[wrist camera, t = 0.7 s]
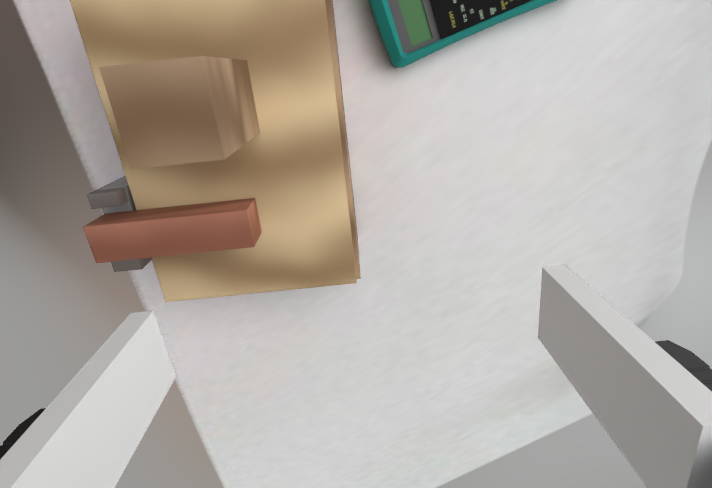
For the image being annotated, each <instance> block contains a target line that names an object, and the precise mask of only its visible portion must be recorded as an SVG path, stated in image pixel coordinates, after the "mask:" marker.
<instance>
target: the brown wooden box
mask: <svg viewBox="0 0 712 488" xmlns="http://www.w3.org/2000/svg"><path fill="white" fill-rule="evenodd" d="M325 3H326V12H327V21H328V30H329V39H330V48H331V56H332V65H333V74H334V83H335V92H336V101H337V110H338V119H339V128H340V137H341V146H342V155H343V164H344V173H345V182H346V191H347V200H348V209H349V217H350V226H351V235H352V244H353V253H354V262H355V271H356V279H360V264H359V250H358V237H357V227H356V218H355V208H354V199H353V190H352V180H351V171H350V161H349V152H348V142H347V133H346V123H345V114H344V105H343V95H342V86H341V76H340V67H339V57H338V48H337V39H336V29H335V20H334V10H333V1H332V0H325ZM87 197H88V199H89V202H90V205H91V207H92V209H96V208H102V209H103V212H104V214H106V213H114V212H124V211H133V210H136V207H135V204H134V201H133V197H132V194H131V191H130V188H129V185H128V182H127V179H126V176H125V177H122V178H120V179H118V180H116V181H114V182H112V183H110V184H108V185H106V186H104V187H102V188H100V189H98V190H96V191H94V192H91V193H89V194H88V195H87ZM151 260H152V258H142V259H132V260H122V261H112V262H111V263H112V266H113V269H114V271H115V272H117V271H128V270H138V269H143V268H144V267H145V266H146V265H147V264H148V263H149V262H150V261H151Z"/></svg>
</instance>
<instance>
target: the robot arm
mask: <svg viewBox="0 0 712 488" xmlns="http://www.w3.org/2000/svg"><path fill="white" fill-rule="evenodd" d="M538 338H539V340H540V341H541V342H542V344H543V345H544V346H545V348H546V349H547V351H548V352H549V353H550V355H551V356H552V358H553V359H554V360H555V362H556V363H557V364H558V366H559V367H560V369H561V370H562V371H563V373H564V374H565V375H566V377H567V378H568V380H569V381H570V382H571V384H572V385H573V386H574V388H575V389H576V391H577V392H578V393H579V395H580V396H581V397H582V399H583V400H584V402H585V403H586V404H587V406H588V407H589V408H590V410H591V411H592V413H593V414H594V415H595V417H596V418H597V419H598V421H599V422H600V423H601V425H602V426H603V428H604V429H605V430H606V432H607V433H608V434H609V436H610V437H611V439H612V440H613V441H614V443H615V444H616V446H617V447H618V448H619V450H620V451H621V453H622V454H623V455H624V456H625V458H626V459H627V461H628V462H629V463H630V465H631V466H632V468H633V469H634V470H635V472H636V473H637V475H638V476H639V477H640V478H641V480H642V481H643V483H644V484H645V485H646V487H647V488H712V369H710V367H709V366H708V365H707V364H706V363H705V362H704V361H702V360H701V359H700V358H699V357H697V356H696V355H695V354H694V353H692V352H691V351H689V350H687V349H685V348H683V347H681V346H679V345H677V344H674V343H673V342H671V341H668V340H667V341H658V342H654V341H653V340H652V339H651V338H650V337H648V336H647V335H646V334H645V333H644V332H643V331H642V330H640V329H639V328H638V327H637V326H636V325H635V324H634V323H632V322H631V321H630V320H629V319H628V318H627V317H625V316H624V315H623V314H622V313H621V312H620V311H619V310H617V309H616V308H615V307H614V306H613V305H612V304H611V303H609V302H608V301H607V300H606V299H605V298H604V297H603V296H601V295H600V294H599V293H598V292H597V291H596V290H595V289H593V288H592V287H591V286H590V285H589V284H588V283H586V282H585V281H584V280H583V279H582V278H581V277H580V276H578V275H577V274H576V273H575V272H574V271H573V270H572V269H570V268H569V267H568V266H567V265H558V266H549V267H542V283H541V298H540V314H539V330H538ZM175 378H176V375H175V372H174V369H173V366H172V363H171V360H170V357H169V355H168V352H167V349H166V346H165V343H164V340H163V337H162V334H161V331H160V328H159V326H158V323H157V320H156V317H155V314H154V311H146V312H137V313H130V315H129V316H128V317H127V318H126V319H125V320H124V321H123V323H122V324H121V325H120V326H119V327H118V328H117V329H116V330H115V331H114V333H113V334H112V335H111V336H110V337H109V338H108V339H107V340H106V342H105V343H104V344H103V345H102V346H101V347H100V348H99V349H98V351H97V352H96V353H95V354H94V355H93V356H92V357H91V358H90V359H89V361H88V362H87V363H86V364H85V365H84V366H83V367H82V369H81V370H80V371H79V372H78V373H77V374H76V375H75V376H74V378H73V379H72V380H71V381H70V382H69V383H68V384H67V385H66V386H65V388H64V389H63V390H62V391H61V392H60V393H59V394H58V395H57V397H56V398H55V399H54V400H53V401H52V402H51V403H50V404H49V406H48V407H47V408H44V409H40V410H39V411H37V412H36V413H34V414H33V415H32V416H30V417H29V418H28V419H26V420H25V421H24V422H22V423H21V424H20V425H19V426H18V427H17V428H16V429H15V430H14V431H13V432H12V433H11V434H10V435H9V436H8V437H7V439H6V440H5V441H4V442H3V445H2V446H0V488H115V486H116V484H117V482H118V480H119V479H120V477H121V475H122V473H123V471H124V469H125V467H126V466H127V464H128V462H129V461H130V459H131V457H132V455H133V453H134V451H135V450H136V448H137V446H138V444H139V443H140V441H141V439H142V437H143V435H144V434H145V432H146V430H147V428H148V426H149V424H150V422H151V421H152V419H153V417H154V416H155V414H156V412H157V410H158V408H159V407H160V405H161V403H162V401H163V399H164V397H165V396H166V394H167V392H168V390H169V389H170V387H171V385H172V383H173V381H174V380H175Z"/></svg>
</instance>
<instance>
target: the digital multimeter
mask: <svg viewBox="0 0 712 488" xmlns="http://www.w3.org/2000/svg"><path fill="white" fill-rule="evenodd" d="M553 1H556V0H369V4H370V7H371V11H372V14H373V17H374V20H375V23H376V26H377V29H378V32H379V34H380V37H381V39H382V42H383V44H384V47H385V49H386V51H387V54H388V56H389V58H390V61H391V63H392V65H393V66H394V67H396V68H400V67H404V66H406V65H408V64H411V63H413V62H415V61H417V60H419V59H421V58H423V57H425V56H427V55H429V54H431V53H433V52H435V51H438V50H440V49H442V48H444V47H446V46H448V45H450V44H452V43H454V42H456V41H459V40H461V39H463V38H466V37H468V36H470V35H472V34H475V33H477V32H479V31H481V30H484V29H486V28H488V27H490V26H493V25H495V24H497V23H500V22H502V21H505V20H507V19H510V18H512V17H515V16H517V15H520V14H522V13H525V12H527V11H530V10H532V9H535V8H537V7H540V6H543V5H545V4H548V3H551V2H553ZM527 2H528V3H527ZM479 3H481V4H479ZM520 5H521V6H520Z"/></svg>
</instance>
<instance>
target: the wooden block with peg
mask: <svg viewBox="0 0 712 488" xmlns="http://www.w3.org/2000/svg"><path fill="white" fill-rule="evenodd" d="M70 2H71V6H72V9H73V12H74V15H75V18H76V21H77V24H78V28H79V31H80V34H81V37H82V40H83V43H84V46H85V50H86V53H87V56H88V59H89V62H90V65H91V68H92V72H93V75H94V78H95V81H96V84H97V87H98V90H99V94H100V97H101V100H102V103H103V106H104V109H105V112H106V116H107V119H108V122H109V125H110V128H111V131H112V135H113V138H114V141H115V144H116V147H117V150H118V153H119V157H120V160H121V163H122V166H123V169H124V172H125V175H126V179H127V182H128V185H129V188H130V191H131V194H132V197H133V201H134V204H135V207H136V210H143V209H153V208H162V207H172V206H182V205H191V204H201V203H211V202H221V201H230V200H240V199H250V198H255V200H256V205H257V210H258V215H259V220H260V225H261V230H262V233H261V235H260V237H259V239H258V241H257V243H256V245H255V246H254V247H251V248H241V249H231V250H221V251H211V252H201V253H191V254H182V255H172V256H162V257H152V260H153V263H154V267H155V270H156V273H157V276H158V279H159V282H160V286H161V289H162V292H163V295H164V298H165V301H166V302H171V301H181V300H191V299H201V298H211V297H221V296H231V295H241V294H251V293H261V292H271V291H281V290H291V289H302V288H312V287H322V286H332V285H342V284H352V283H356V271H355V262H354V253H353V244H352V235H351V226H350V217H349V209H348V200H347V191H346V182H345V173H344V164H343V155H342V146H341V137H340V128H339V119H338V110H337V101H336V92H335V83H334V74H333V65H332V56H331V48H330V39H329V30H328V21H327V12H326V3H325V0H70Z"/></svg>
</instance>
